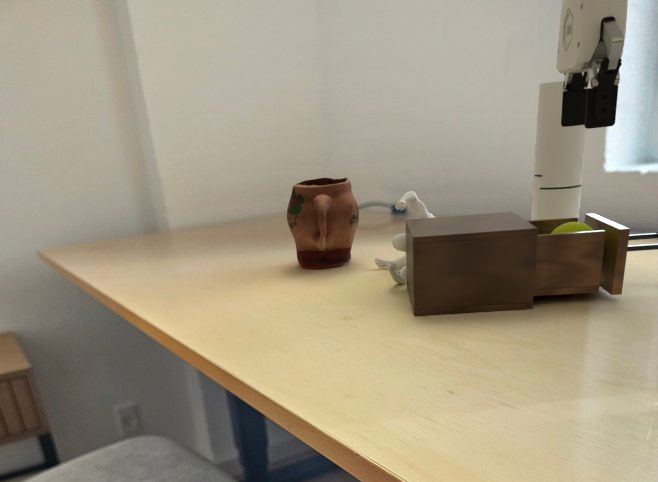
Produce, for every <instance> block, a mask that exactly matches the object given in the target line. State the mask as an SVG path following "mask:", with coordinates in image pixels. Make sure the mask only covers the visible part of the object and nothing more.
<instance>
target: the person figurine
mask: <svg viewBox="0 0 658 482" xmlns="http://www.w3.org/2000/svg"><path fill="white" fill-rule="evenodd" d="M407 203H408V206H409V208H410V210H411V211H412V213H413V214H414V215H415V216H414V219H421V218H435V217H436V216H435V215H434V214H432V213H431V212H429V211H428V209H427V206H426V205H425V203H424V202H423V201H422V200H421V199H419V198H418V195H417V192H416V191H414V190H409V191H407V192H405V193H404V194H403V196H402V197H400V199H399V200H398V201H397V202H395V205H394V209H396V210H397V211H399V210H400V211H401V212H402V211H403V210H405V208H406V207H407ZM391 242H392V243H391V244H392V247H393V248H394V249H395V250H397V251H399V252H403V253H404V252H405V254H403V255H400V256H397V257H396V258H395V259H389V258H383V257H375V258H374V259H373V260H374V264H375V265H376V267H378V268H386V269H387V271H388V272H389V274H390V276H391V278H392V280H393V281H394V282H395V283H396V284H398V285H403V284H405V282H406V281H407V274H406V232H402V233H398V234H396V235H394V236H393V238H392V240H391ZM398 271H399V272H398Z"/></svg>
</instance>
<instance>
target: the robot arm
mask: <svg viewBox="0 0 658 482" xmlns="http://www.w3.org/2000/svg"><path fill="white" fill-rule="evenodd" d="M628 5H629V0H562V2H561V9H560V10H561V11H560V21H559V32H558V40H557V41H558V43H557V55H556V70H557V71H558V73H560V74H563V75H564V79H563V81H564V82H563V96H562V114H561V126H562V127H569V126H578V125H584V126H585V128H587V130H590V129H591V130H592V129H598V128H599V129H601V128H608V127H613V126H614V125H615V124H616V117H617V107H618V106H617V105H618V96H619V95H618V93H619V84H620V81H621V75H620V74H621V73H620V69H621V67H622V63H623V62H622V61H623V59H622V58H623V54H624V50H625V49H624V48H625V42H626V34H627V33H626V32H627V20H628V8H629V7H628ZM589 80H590V85H591V88H588V89H587V87H588V84H589Z"/></svg>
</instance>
